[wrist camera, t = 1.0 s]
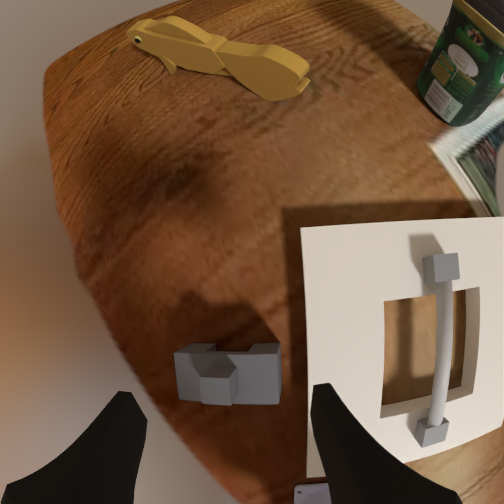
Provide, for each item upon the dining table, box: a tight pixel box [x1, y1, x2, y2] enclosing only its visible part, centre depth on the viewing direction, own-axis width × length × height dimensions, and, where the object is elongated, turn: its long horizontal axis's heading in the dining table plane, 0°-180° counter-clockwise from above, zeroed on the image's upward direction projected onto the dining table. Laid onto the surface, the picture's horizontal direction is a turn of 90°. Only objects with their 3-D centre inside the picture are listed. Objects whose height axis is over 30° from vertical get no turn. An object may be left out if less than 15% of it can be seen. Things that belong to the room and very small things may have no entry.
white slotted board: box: [300, 217, 504, 478], centre depth 18 cm, size 22×22×4 cm
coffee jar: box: [417, 0, 504, 126], centre depth 13 cm, size 10×8×19 cm
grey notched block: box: [174, 343, 282, 406], centre depth 20 cm, size 4×8×6 cm, turn 93°
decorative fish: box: [126, 16, 310, 101], centre depth 23 cm, size 22×3×10 cm, turn 57°
